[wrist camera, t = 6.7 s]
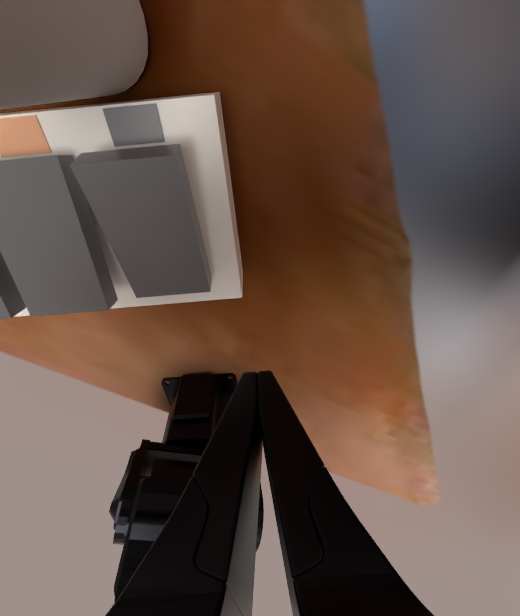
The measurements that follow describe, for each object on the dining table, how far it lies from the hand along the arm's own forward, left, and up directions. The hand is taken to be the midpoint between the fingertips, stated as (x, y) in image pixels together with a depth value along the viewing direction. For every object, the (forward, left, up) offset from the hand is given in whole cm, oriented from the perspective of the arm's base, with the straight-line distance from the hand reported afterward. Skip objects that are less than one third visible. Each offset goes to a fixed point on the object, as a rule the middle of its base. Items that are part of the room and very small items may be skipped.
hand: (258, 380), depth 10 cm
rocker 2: (+2, +10, -8) cm, 12 cm away
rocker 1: (+2, +5, -8) cm, 9 cm away
